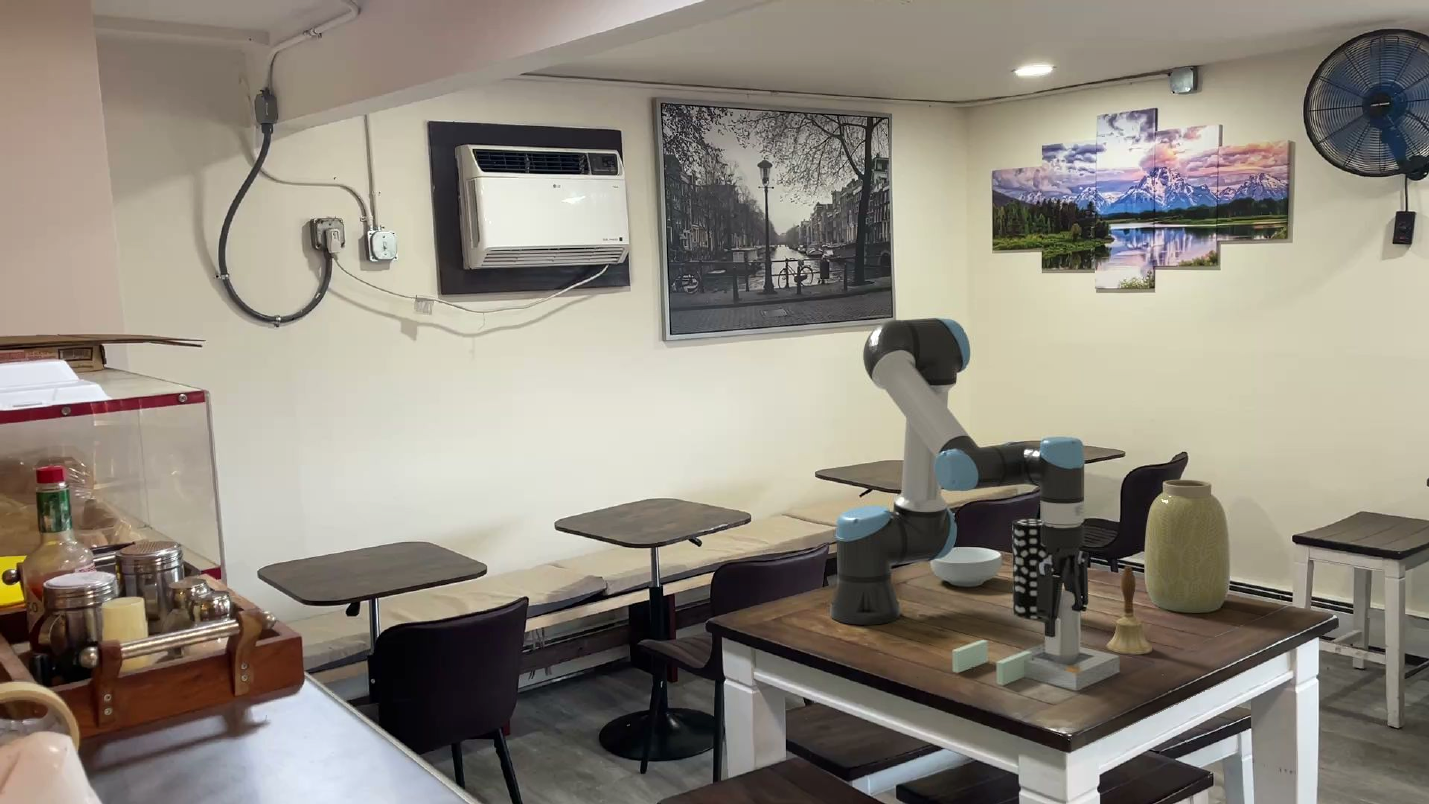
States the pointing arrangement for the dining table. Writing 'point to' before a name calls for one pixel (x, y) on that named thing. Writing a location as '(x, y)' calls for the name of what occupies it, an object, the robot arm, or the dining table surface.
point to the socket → (1070, 668)
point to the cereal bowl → (967, 566)
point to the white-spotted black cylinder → (1026, 565)
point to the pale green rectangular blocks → (978, 655)
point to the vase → (1187, 549)
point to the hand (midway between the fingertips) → (1062, 649)
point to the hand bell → (1129, 623)
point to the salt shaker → (1067, 631)
